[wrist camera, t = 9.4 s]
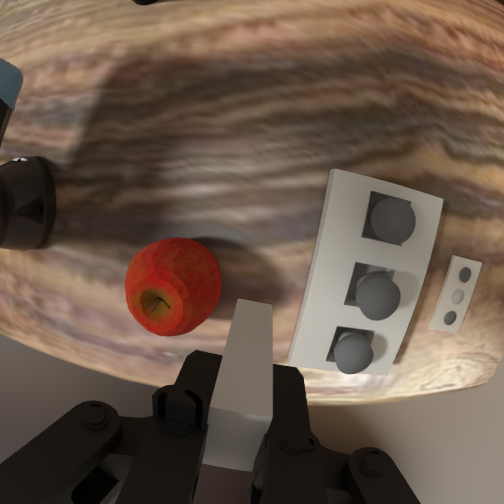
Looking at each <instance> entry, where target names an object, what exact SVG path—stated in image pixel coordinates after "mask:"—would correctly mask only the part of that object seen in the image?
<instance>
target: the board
mask: <svg viewBox="0 0 504 504" xmlns="http://www.w3.org/2000/svg"><path fill="white" fill-rule="evenodd" d="M386 198H394V199H400V200H403V201H405V202H407V203H408V204H409V205H410V206H411V207H412V209H413V211H414V213H415V217H416V225H415V229H414V232H413V233H412V235H411V236H410V238H409V239H408V240H406V241H405V242H403V243H400V244H391V243H388V242H386V241H385V240H383V239H381V238H380V237H378V236H377V235H376V234H375V233H374V231H373V229H372V226H371V221H370V211H371V209H372V208H373V207H374V206H375V205H376V204H377V203H378V202H379V201H381V200H383V199H386ZM442 205H443V199H441V198H438V197H436V196H432V195H429V194H426V193H423V192H420V191H417V190H414V189H410V188H407V187H404V186H400V185H397V184H393V183H390V182H386V181H383V180H379V179H375V178H372V177H368V176H364V175H360V174H356V173H352V172H348V171H344V170H339V169H335V168H334V169H330V171H329V177H328V182H327V188H326V193H325V199H324V204H323V209H322V214H321V219H320V224H319V229H318V234H317V238H316V243H315V248H314V252H313V257H312V261H311V266H310V270H309V274H308V279H307V283H306V287H305V291H304V295H303V299H302V303H301V307H300V311H299V315H298V319H297V323H296V327H295V331H294V334H293V338H292V342H291V346H290V349H289V365H290V366H297V367H304V368H312V369H320V370H329V371H339V372H341V371H340V370H339V369H338V367H337V365H336V362H335V358H334V354H333V351H334V347H335V345H336V344H337V343H336V338H337V335H338V334H339V333H340V332H341V331H343V330H345V329H353V330H355V331H356V332H357V334H360V335H363V336H364V337H366V338H367V340H368V342H369V344H370V346H371V348H372V350H373V353H374V356H373V360H372V362H371V364H370V365H369V366H368V367H367V368H366V369H365V370H363V371H361V372H359V373H362V374H376V375H387V374H388V372H389V370H390V368H391V365H392V363H393V361H394V359H395V357H396V354H397V352H398V350H399V347H400V345H401V342H402V340H403V338H404V335H405V333H406V330H407V328H408V325H409V322H410V320H411V317H412V314H413V311H414V309H415V306H416V303H417V300H418V297H419V294H420V291H421V288H422V285H423V281H424V278H425V275H426V272H427V268H428V265H429V261H430V257H431V254H432V250H433V246H434V242H435V238H436V233H437V229H438V225H439V220H440V215H441V210H442ZM365 273H374V274H376V273H380V274H384V275H386V276H388V277H389V278H390V279H391V280H392V281H393V282H394V283H395V284H396V285H397V286H398V288H399V290H400V294H401V299H400V304H399V306H398V308H397V309H396V311H395V312H394V313H393V314H392V315H391V316H390V317H388V318H386V319H384V320H380V321H374V320H370V319H368V318H367V317H365V316H364V314H363V313H362V311H361V310H360V308H359V306H358V304H357V302H356V290H357V289H356V284H357V281H358V279H359V278H360V277H361V276H362V275H363V274H365Z"/></svg>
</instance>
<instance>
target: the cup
mask: <svg viewBox="0 0 504 504" xmlns="http://www.w3.org/2000/svg"><path fill="white" fill-rule="evenodd" d="M133 1H134V2H135V3H136V4H138V5H148V4H151V3H154V2H156V1H157V0H133Z"/></svg>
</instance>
